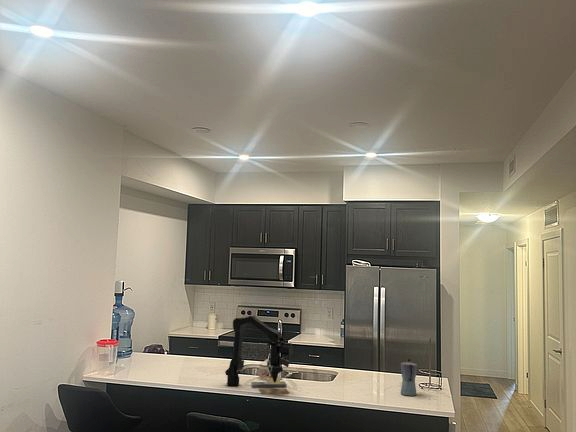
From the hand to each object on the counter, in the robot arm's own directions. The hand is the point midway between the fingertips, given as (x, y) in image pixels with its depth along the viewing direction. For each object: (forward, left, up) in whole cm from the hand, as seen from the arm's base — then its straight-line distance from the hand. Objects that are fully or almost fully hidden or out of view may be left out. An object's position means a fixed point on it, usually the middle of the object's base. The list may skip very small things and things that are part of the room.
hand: (274, 381), depth 307 cm
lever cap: (0, 0, -1) cm, 1 cm away
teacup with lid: (+2, +33, -6) cm, 34 cm away
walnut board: (0, 0, -6) cm, 6 cm away
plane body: (-1, +12, -6) cm, 13 cm away
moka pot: (+77, -12, -6) cm, 78 cm away
